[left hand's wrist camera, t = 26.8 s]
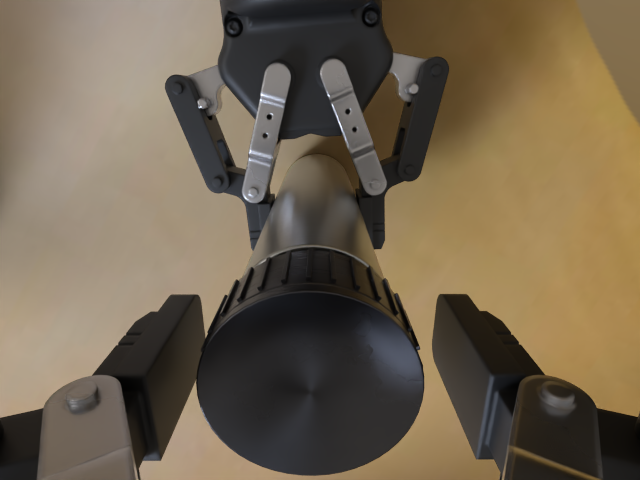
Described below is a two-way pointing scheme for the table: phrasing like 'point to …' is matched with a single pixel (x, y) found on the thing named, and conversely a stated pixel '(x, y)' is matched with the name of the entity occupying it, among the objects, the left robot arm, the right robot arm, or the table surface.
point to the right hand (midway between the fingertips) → (319, 256)
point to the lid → (310, 365)
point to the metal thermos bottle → (315, 215)
